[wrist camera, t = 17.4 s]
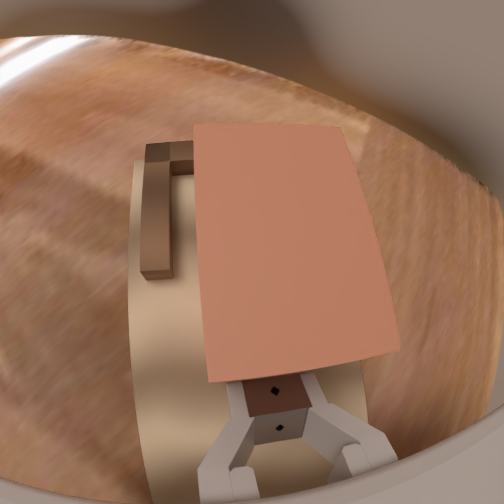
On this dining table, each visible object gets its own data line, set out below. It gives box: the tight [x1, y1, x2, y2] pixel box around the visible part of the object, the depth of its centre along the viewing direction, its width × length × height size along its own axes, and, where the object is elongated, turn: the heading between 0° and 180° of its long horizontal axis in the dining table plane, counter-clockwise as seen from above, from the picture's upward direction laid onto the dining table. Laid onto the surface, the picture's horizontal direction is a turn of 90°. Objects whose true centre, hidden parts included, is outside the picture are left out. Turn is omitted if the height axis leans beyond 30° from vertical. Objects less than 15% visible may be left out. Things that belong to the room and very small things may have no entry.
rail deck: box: [128, 141, 368, 504], centre depth 15 cm, size 28×12×4 cm, turn 7°
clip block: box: [193, 123, 401, 383], centre depth 11 cm, size 6×4×10 cm, turn 7°
